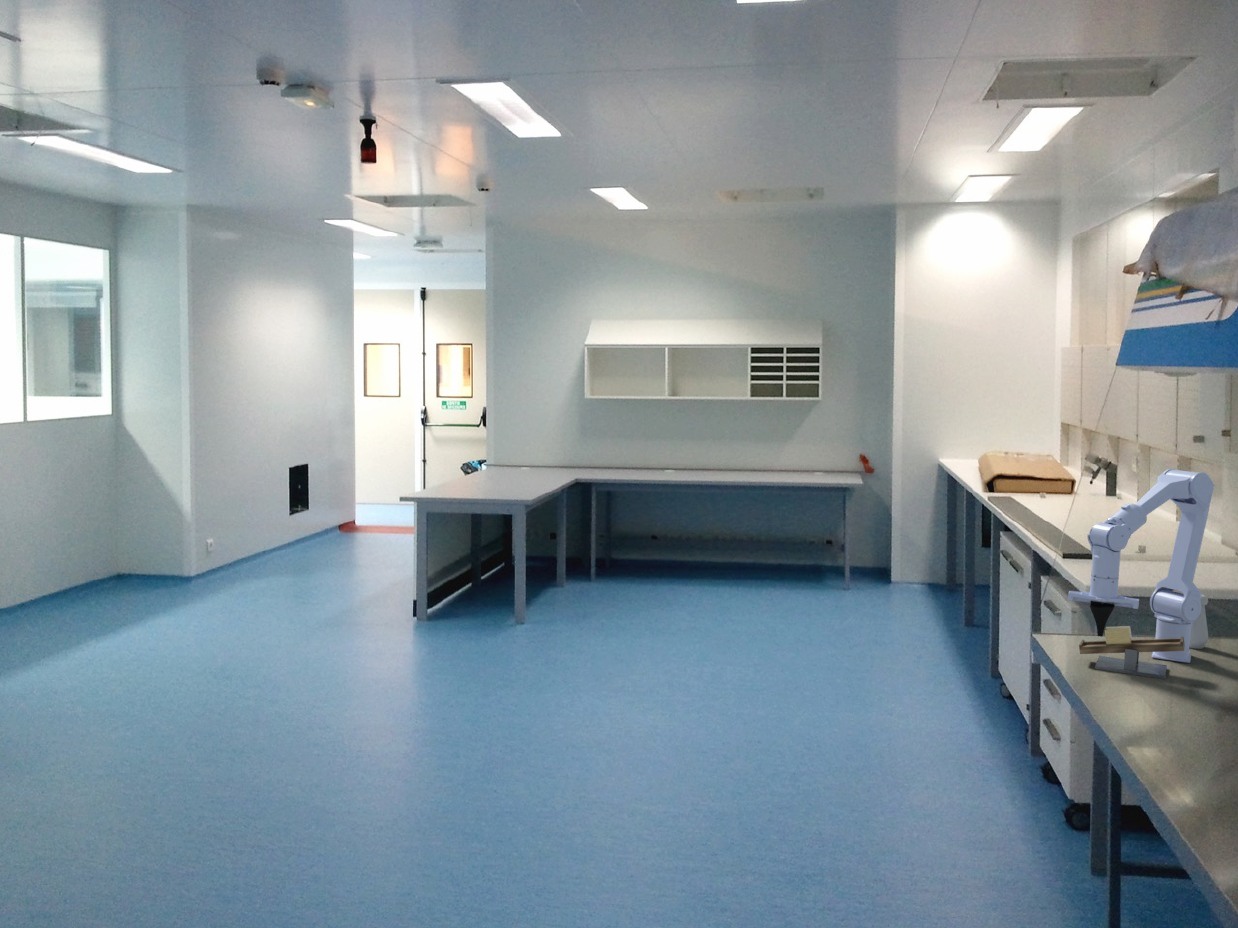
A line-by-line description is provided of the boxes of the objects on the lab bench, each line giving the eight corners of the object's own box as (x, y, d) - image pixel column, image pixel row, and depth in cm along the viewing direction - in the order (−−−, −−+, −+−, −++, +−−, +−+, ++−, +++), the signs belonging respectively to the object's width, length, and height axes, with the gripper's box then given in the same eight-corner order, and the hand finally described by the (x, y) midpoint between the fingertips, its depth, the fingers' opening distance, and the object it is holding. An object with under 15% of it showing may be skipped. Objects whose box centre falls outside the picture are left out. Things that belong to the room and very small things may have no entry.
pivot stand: (1099, 658, 249) (1100, 636, 249) (1166, 668, 242) (1168, 645, 242) (1094, 668, 240) (1096, 645, 240) (1164, 679, 234) (1166, 654, 233)
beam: (1080, 658, 243) (1078, 645, 243) (1083, 652, 249) (1082, 639, 249) (1184, 655, 233) (1182, 642, 233) (1185, 649, 239) (1183, 635, 239)
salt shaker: (1210, 650, 260) (1215, 597, 259) (1185, 648, 261) (1189, 596, 260) (1202, 644, 266) (1207, 593, 265) (1177, 642, 267) (1181, 591, 266)
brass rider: (1108, 644, 245) (1106, 626, 245) (1132, 643, 243) (1130, 625, 243) (1106, 647, 242) (1104, 629, 242) (1131, 646, 239) (1128, 629, 239)
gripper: (1068, 575, 243) (1063, 634, 244) (1139, 583, 236) (1134, 643, 237) (1071, 570, 249) (1067, 628, 250) (1141, 578, 242) (1136, 637, 243)
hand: (1100, 635), depth 244 cm, fingers closed
